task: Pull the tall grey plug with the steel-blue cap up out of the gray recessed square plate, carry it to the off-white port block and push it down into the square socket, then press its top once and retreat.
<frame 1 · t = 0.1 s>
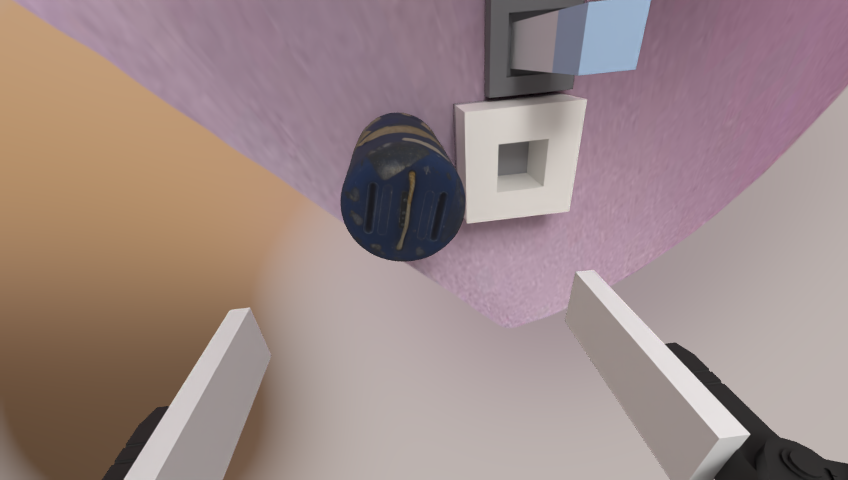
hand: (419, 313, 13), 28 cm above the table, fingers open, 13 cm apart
plug: (530, 44, 33), point 1 cm above the table, touching gray recessed square plate
canister: (398, 152, 38), on the table
gray recessed square plate: (527, 44, 33), on the table
port: (504, 151, 39), on the table
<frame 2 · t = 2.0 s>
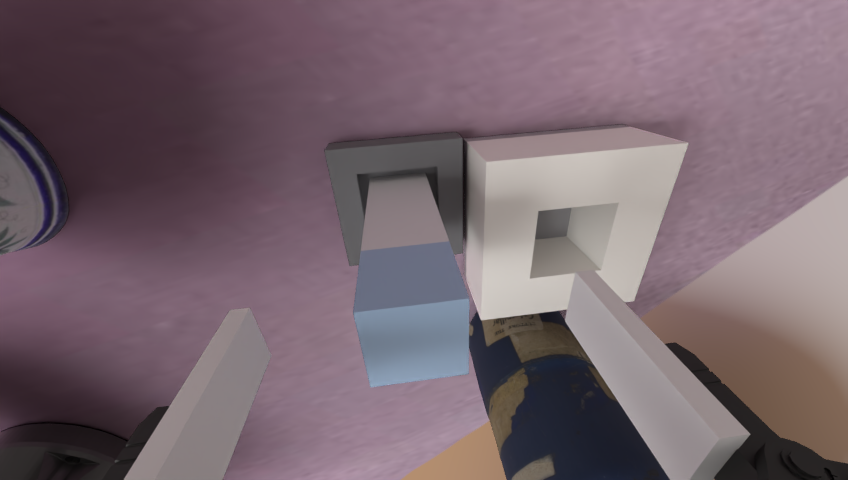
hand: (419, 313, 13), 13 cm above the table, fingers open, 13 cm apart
plug: (400, 201, 24), point 1 cm above the table, touching gray recessed square plate
canister: (508, 320, 33), on the table
gray recessed square plate: (400, 197, 25), on the table
port: (535, 206, 26), on the table
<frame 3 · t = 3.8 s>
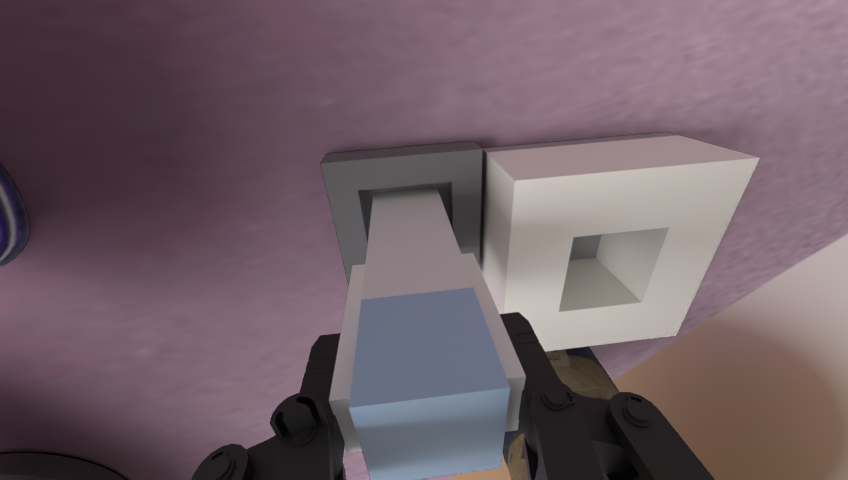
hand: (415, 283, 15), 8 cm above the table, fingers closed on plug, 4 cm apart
plug: (408, 219, 21), point 1 cm above the table, touching gripper, gray recessed square plate
canister: (525, 345, 30), on the table
gray recessed square plate: (407, 214, 22), on the table
port: (561, 224, 23), on the table
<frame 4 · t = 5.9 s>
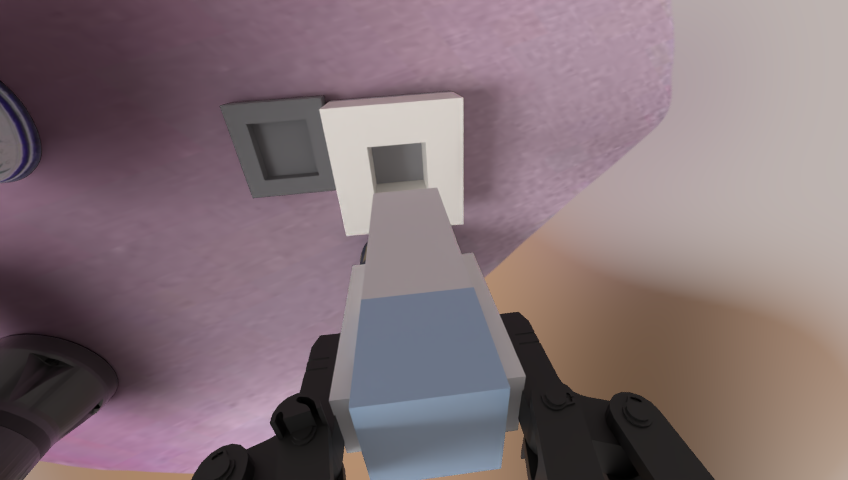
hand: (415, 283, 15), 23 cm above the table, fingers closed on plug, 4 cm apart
plug: (408, 219, 21), point 16 cm above the table, touching gripper
gray recessed square plate: (289, 146, 33), on the table
port: (397, 155, 35), on the table
when the fingers open (10 cm above the table, at t = 8.5 s): plug drops 2 cm, resting on port.
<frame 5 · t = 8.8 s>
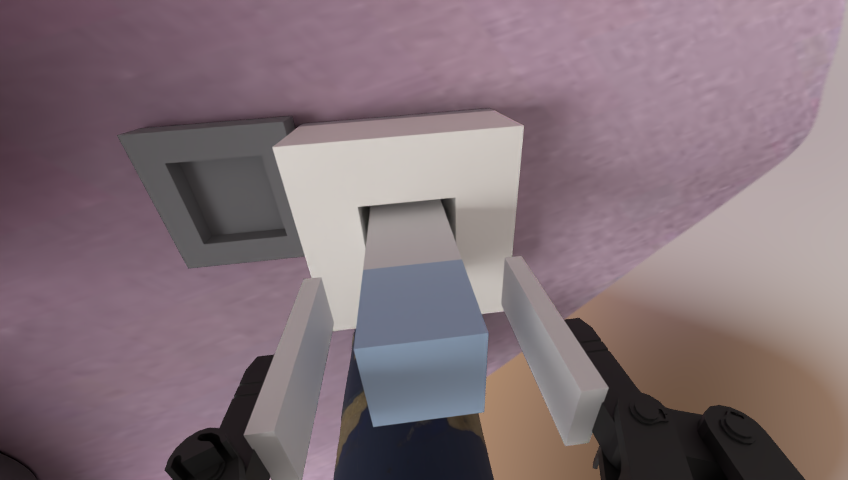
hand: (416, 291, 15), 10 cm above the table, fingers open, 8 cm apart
plug: (405, 207, 22), point 1 cm above the table, touching port
canister: (404, 328, 30), on the table
gray recessed square plate: (243, 190, 22), on the table
port: (406, 202, 23), on the table
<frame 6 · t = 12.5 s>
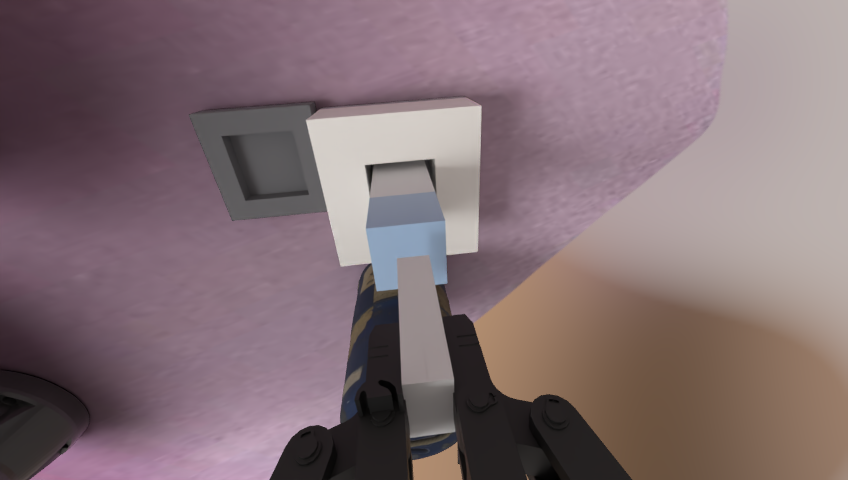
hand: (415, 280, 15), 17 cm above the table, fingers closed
plug: (400, 174, 29), point 1 cm above the table, touching port
canister: (400, 279, 36), on the table
gray recessed square plate: (275, 160, 28), on the table
port: (400, 170, 30), on the table
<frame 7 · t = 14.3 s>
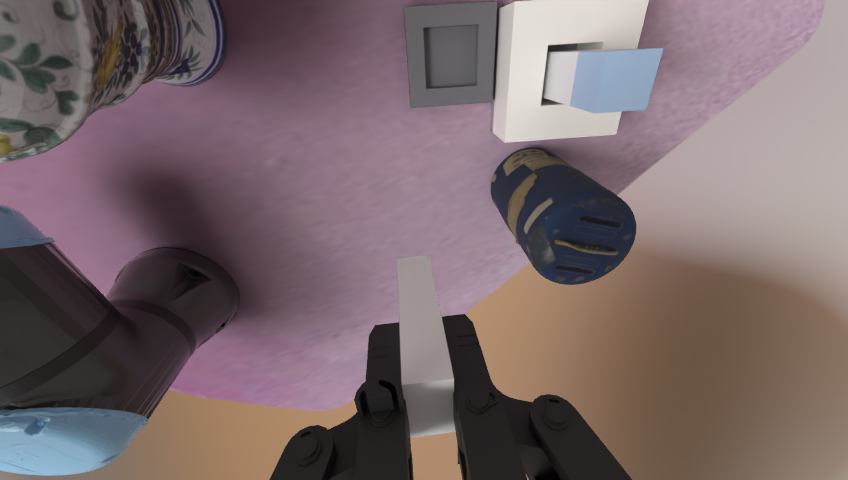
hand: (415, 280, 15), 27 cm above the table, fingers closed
plug: (549, 72, 35), point 1 cm above the table, touching port
canister: (522, 180, 43), on the table
gray recessed square plate: (448, 57, 35), on the table
vase: (165, 17, 31), on the table
port: (546, 71, 36), on the table
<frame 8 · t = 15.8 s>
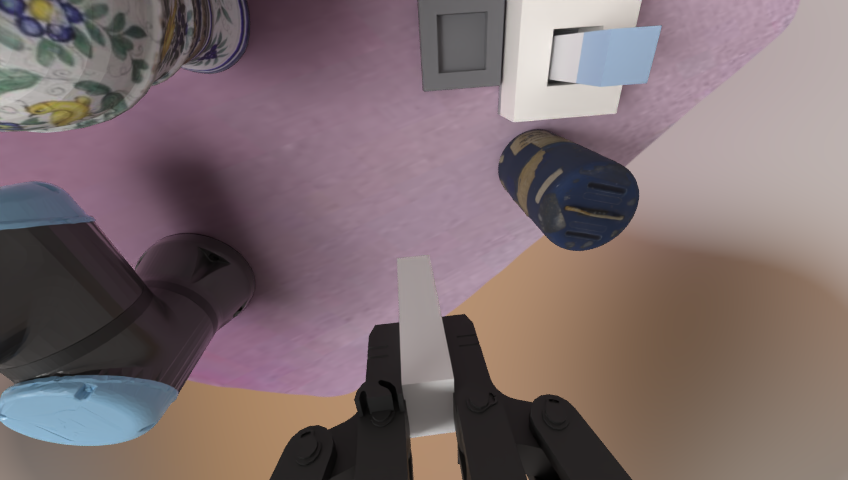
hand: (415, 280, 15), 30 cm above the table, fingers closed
plug: (552, 56, 38), point 1 cm above the table, touching port
canister: (527, 162, 45), on the table
gray recessed square plate: (458, 44, 37), on the table
vase: (191, 6, 33), on the table
port: (549, 56, 38), on the table
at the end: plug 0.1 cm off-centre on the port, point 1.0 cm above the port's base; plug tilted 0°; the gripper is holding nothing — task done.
